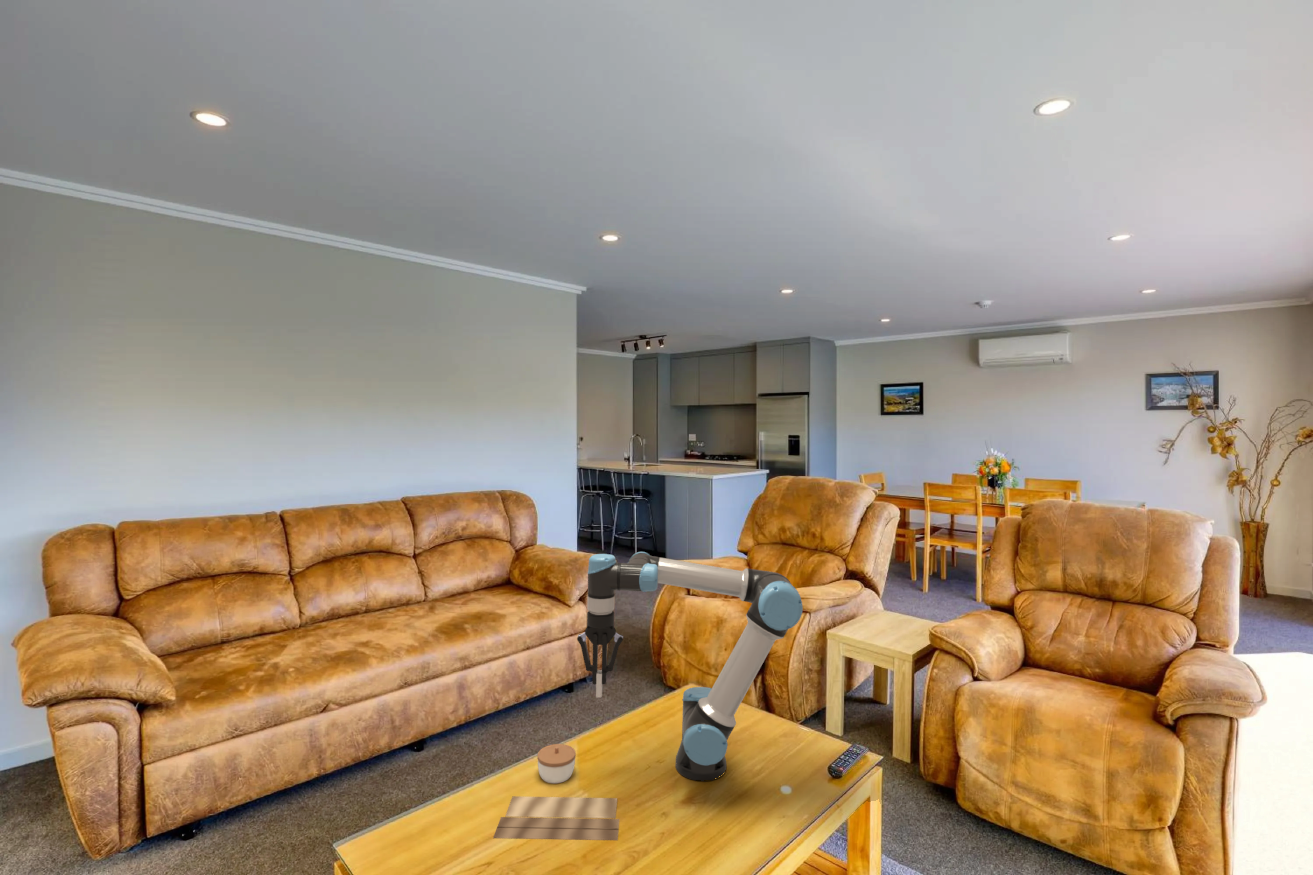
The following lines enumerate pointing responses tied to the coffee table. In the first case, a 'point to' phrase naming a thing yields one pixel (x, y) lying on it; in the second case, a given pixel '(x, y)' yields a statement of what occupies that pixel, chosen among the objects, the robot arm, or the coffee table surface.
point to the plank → (562, 807)
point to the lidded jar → (556, 763)
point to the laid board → (557, 828)
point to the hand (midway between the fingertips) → (599, 695)
